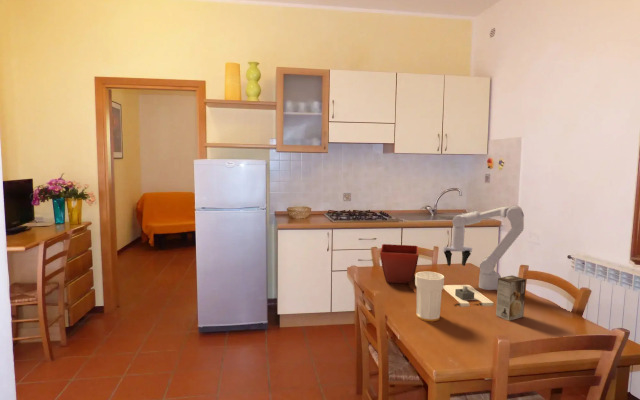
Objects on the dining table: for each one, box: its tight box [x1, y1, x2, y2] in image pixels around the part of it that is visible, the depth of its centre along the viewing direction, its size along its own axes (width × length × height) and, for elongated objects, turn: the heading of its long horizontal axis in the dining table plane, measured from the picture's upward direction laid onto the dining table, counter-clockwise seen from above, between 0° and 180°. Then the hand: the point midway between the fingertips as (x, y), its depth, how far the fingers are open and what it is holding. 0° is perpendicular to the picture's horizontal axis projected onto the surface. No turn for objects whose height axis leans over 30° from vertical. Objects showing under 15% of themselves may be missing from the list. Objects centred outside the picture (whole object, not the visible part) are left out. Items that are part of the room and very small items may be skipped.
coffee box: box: [495, 275, 527, 322], centre depth 160 cm, size 9×6×16 cm
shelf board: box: [442, 284, 495, 308], centre depth 182 cm, size 15×24×6 cm, turn 4°
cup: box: [414, 270, 445, 322], centre depth 158 cm, size 11×11×17 cm
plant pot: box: [379, 243, 420, 285], centre depth 206 cm, size 19×19×17 cm
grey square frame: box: [455, 289, 474, 301], centre depth 178 cm, size 6×6×3 cm
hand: (456, 265), depth 198 cm, fingers open, 7 cm apart
